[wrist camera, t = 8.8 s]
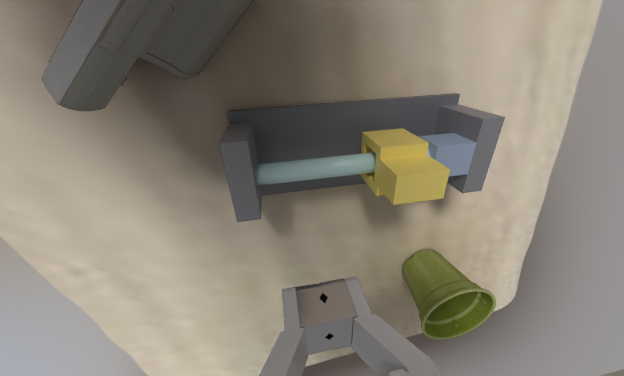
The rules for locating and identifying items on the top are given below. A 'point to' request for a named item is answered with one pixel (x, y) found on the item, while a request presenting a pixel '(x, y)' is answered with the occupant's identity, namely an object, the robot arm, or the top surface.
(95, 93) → the digital clock
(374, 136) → the yellow stepped block
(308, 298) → the robot arm
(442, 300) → the plant pot
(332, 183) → the grey rectangular frame
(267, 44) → the top surface
